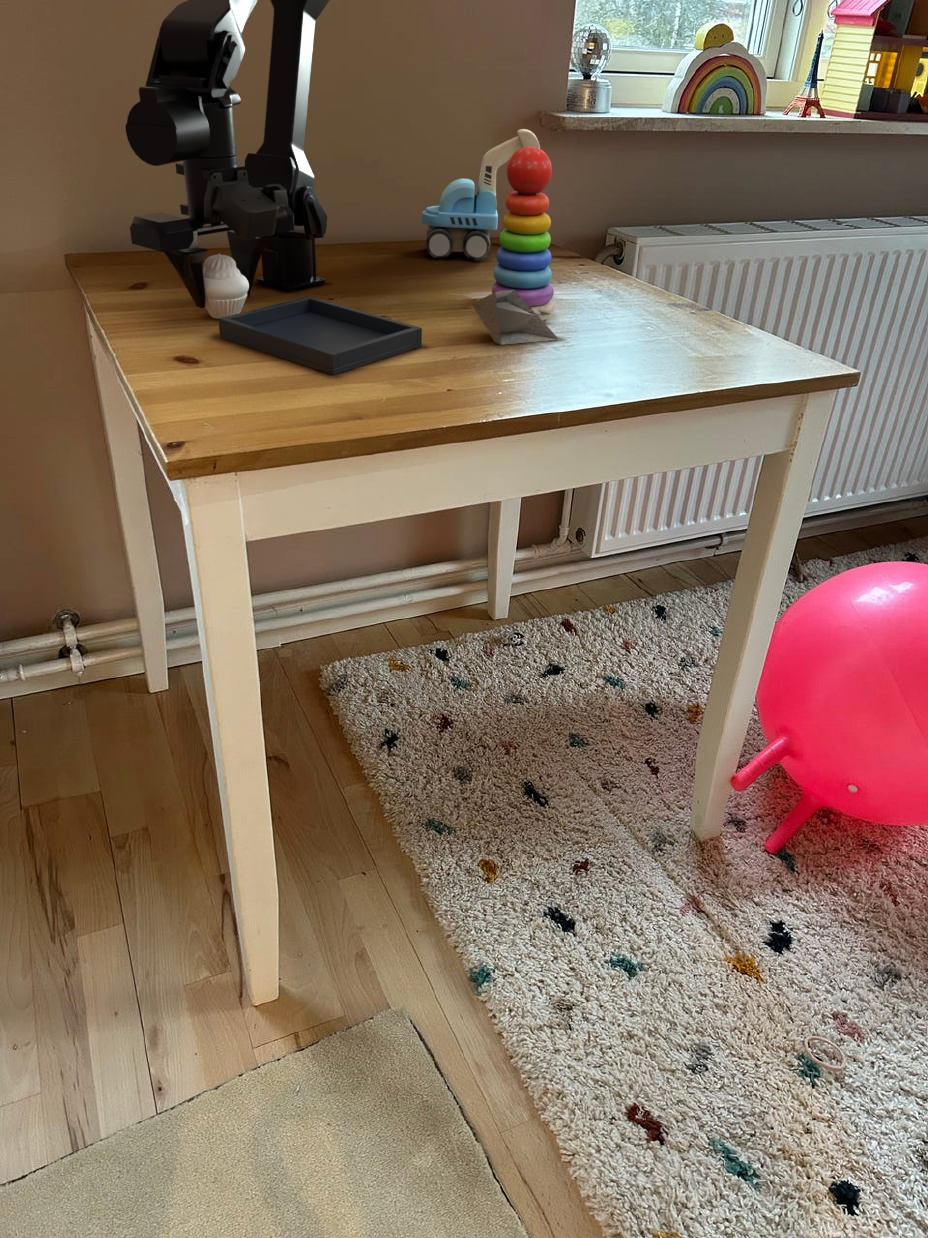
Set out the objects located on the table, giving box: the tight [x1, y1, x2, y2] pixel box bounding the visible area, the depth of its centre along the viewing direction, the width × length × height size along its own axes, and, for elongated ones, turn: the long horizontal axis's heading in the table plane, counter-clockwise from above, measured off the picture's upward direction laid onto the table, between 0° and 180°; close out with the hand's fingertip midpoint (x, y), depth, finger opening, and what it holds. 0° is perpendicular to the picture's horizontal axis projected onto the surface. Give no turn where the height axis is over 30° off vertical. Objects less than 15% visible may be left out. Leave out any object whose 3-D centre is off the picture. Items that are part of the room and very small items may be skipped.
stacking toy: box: [491, 147, 555, 322], centre depth 112 cm, size 8×8×19 cm
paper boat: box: [471, 290, 560, 346], centre depth 106 cm, size 12×6×9 cm
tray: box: [217, 296, 423, 376], centre depth 104 cm, size 14×18×2 cm
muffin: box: [203, 252, 249, 320], centre depth 110 cm, size 6×6×7 cm
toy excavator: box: [421, 128, 541, 262], centre depth 139 cm, size 9×17×17 cm, turn 89°
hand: (223, 302), depth 111 cm, fingers closed on muffin, 6 cm apart
